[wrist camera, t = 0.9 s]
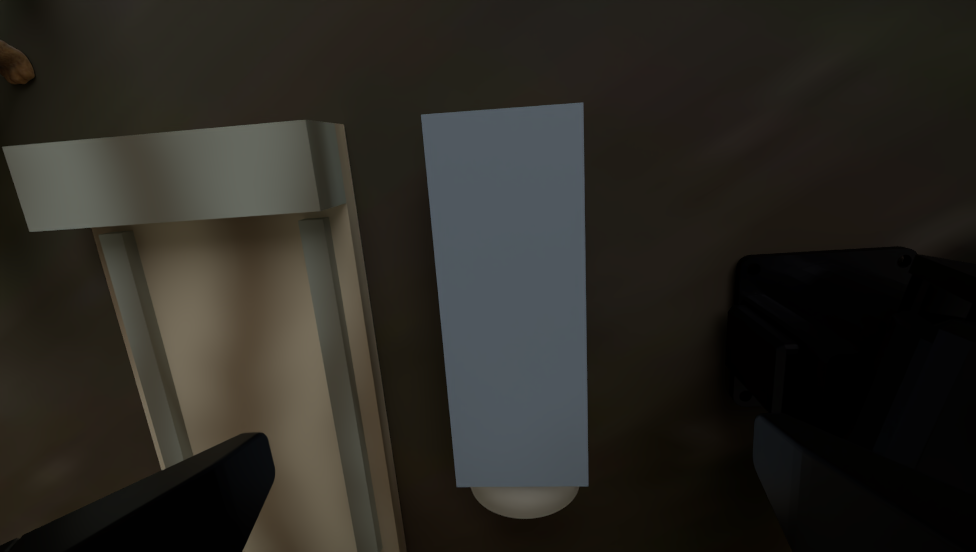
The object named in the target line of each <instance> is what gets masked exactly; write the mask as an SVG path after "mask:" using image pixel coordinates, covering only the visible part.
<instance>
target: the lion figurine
mask: <svg viewBox="0 0 976 552" xmlns="http://www.w3.org/2000/svg"><path fill="white" fill-rule="evenodd" d="M0 74H1V75H2V76H4V78H5V79H6V80H7V81H8V82H9V83H11V84H26V83H27V82H28V81H29V80H31V79H33V78H34V77H35V74H34V70H33V67H32V65H31V63H30V62H29V60H28V59H27V57H26V56H25V55H24V54H23V53H22V52H21V51H19V50H18V49H16V48H14V47H12V46H10V45H8V44H7V43H6V42H5V41H2V40H0Z"/></svg>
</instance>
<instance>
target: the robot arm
mask: <svg viewBox="0 0 976 552" xmlns="http://www.w3.org/2000/svg"><path fill="white" fill-rule="evenodd" d="M901 256H903V257H904V259H903V262H902V263H900V264H899V265H898V264H897V261H898V259H899V258H900V257H901ZM753 263H755V264H756V268H755V270H754V271H753V272H752V273H747V268H748V266H749V265H750V264H753ZM725 364H726V367H727V368H728V369H729V370H730V389H729V393H730V396H731V398H732V399H733V400H734V402H735V403H736V404H737V405H739V406H743V407H753V406H763V407H764V408H765V409H766V410H767V411H768V412H769V413H763V414H759V415H757V416H756V418H755V421H754V437H753V463H754V467H755V470H756V472H757V475H758V477H759V479H760V481H761V483H762V486H763V488H764V490H765V492H766V494H767V497H768V499H769V501H770V503H771V506H772V508H773V510H774V512H775V514H776V517H777V519H778V521H779V523H780V525H781V528H782V530H783V532H784V534H785V537H786V539H787V541H788V543H789V545H790V547H791V549H792V551H793V552H976V264H974V263H968V262H962V261H956V260H950V259H944V258H938V257H931V256H925V255H919V254H917V253H916V252H915V251H914V250H912V249H909V248H905V247H899V246H897V247H880V248H862V249H845V250H828V251H810V252H793V253H776V254H758V255H748V256H744V257H743V258H741V259H740V260H739V262H738V263H737V267H736V281H735V299H734V306H732V307H731V309H730V310H729V311H728V323H727V342H726V361H725ZM743 391H748V392H747V394H746V395H745V396H743V397H739V395H740V393H741V392H743ZM274 479H275V466H274V461H273V457H272V453H271V449H270V445H269V440H268V437H267V436H266V435H265V434H264V433H262V432H248V433H241V434H239V435H237V436H235V437H233V438H230V439H228V440H226V441H224V442H222V443H220V444H217V445H215V446H213V447H211V448H209V449H207V450H205V451H202V452H200V453H198V454H196V455H194V456H192V457H190V458H187V459H185V460H183V461H181V462H179V463H177V464H175V465H172V466H170V467H168V468H166V469H164V470H162V471H160V472H157V473H155V474H153V475H151V476H149V477H147V478H144V479H142V480H140V481H138V482H136V483H134V484H132V485H129V486H127V487H125V488H123V489H121V490H119V491H117V492H114V493H112V494H110V495H108V496H106V497H104V498H102V499H99V500H97V501H95V502H93V503H91V504H89V505H87V506H84V507H82V508H80V509H78V510H76V511H74V512H72V513H69V514H67V515H65V516H63V517H61V518H59V519H56V520H54V521H52V522H50V523H48V524H46V525H44V526H41V527H39V528H37V529H35V530H33V531H31V532H29V533H26V534H24V535H23V536H22V537H21V538H20V539H19V538H16V539H13V540H11V541H9V542H7V543H5V544H3V545H0V552H242V551H243V549H244V547H245V545H246V543H247V541H248V538H249V536H250V534H251V532H252V530H253V527H254V525H255V523H256V521H257V518H258V516H259V514H260V512H261V510H262V507H263V505H264V503H265V501H266V498H267V496H268V494H269V492H270V490H271V487H272V485H273V483H274Z"/></svg>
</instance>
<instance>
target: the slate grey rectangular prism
mask: <svg viewBox="0 0 976 552" xmlns="http://www.w3.org/2000/svg"><path fill="white" fill-rule="evenodd" d="M421 119H422V130H423V140H424V151H425V161H426V171H427V182H428V192H429V203H430V213H431V224H432V234H433V245H434V255H435V265H436V276H437V286H438V297H439V307H440V318H441V328H442V339H443V349H444V359H445V370H446V380H447V391H448V401H449V412H450V422H451V433H452V443H453V453H454V464H455V474H456V485H457V487H471V490H472V493H473V495H474V496H475V498H476V499H477V500H478V502H479V503H480V504H481V505H483V506H484V507H485V508H487V509H488V510H490V511H492V512H494V513H496V514H499V515H502V516H506V517H510V518H518V519H531V518H539V517H543V516H547V515H550V514H553V513H555V512H557V511H559V510H561V509H563V508H564V507H566V506H567V505H568V504H569V503H570V502H571V501H572V500H573V499H574V498H575V496H576V494H577V492H578V490H579V486H588V416H587V344H586V271H585V198H584V125H583V103H571V104H558V105H544V106H531V107H518V108H504V109H491V110H477V111H464V112H451V113H437V114H424V115H421Z"/></svg>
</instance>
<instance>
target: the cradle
mask: <svg viewBox="0 0 976 552" xmlns="http://www.w3.org/2000/svg"><path fill="white" fill-rule="evenodd" d="M2 148H3V151H4V154H5V158H6V161H7V164H8V167H9V170H10V173H11V176H12V179H13V182H14V185H15V188H16V191H17V195H18V198H19V201H20V204H21V207H22V210H23V213H24V216H25V219H26V222H27V225H28V228H29V232H36V231H50V230H64V229H78V228H91V229H92V232H93V236H94V239H95V242H96V246H97V249H98V253H99V256H100V260H101V263H102V267H103V270H104V273H105V277H106V280H107V284H108V287H109V291H110V294H111V298H112V301H113V304H114V308H115V311H116V315H117V318H118V322H119V325H120V328H121V332H122V335H123V339H124V342H125V346H126V349H127V353H128V356H129V359H130V363H131V366H132V370H133V373H134V377H135V380H136V384H137V387H138V390H139V394H140V397H141V401H142V404H143V408H144V411H145V415H146V418H147V421H148V425H149V428H150V432H151V435H152V439H153V442H154V446H155V449H156V452H157V456H158V459H159V463H160V466H161V470H164V469H166V468H168V467H170V466H172V465H175V464H177V463H179V462H181V461H183V460H185V459H187V458H190V457H192V456H194V455H196V454H198V453H200V452H202V451H205V450H207V449H209V448H211V447H213V446H215V445H217V444H220V443H222V442H224V441H226V440H228V439H230V438H233V437H235V436H237V435H239V434H241V433H248V432H262V433H264V434H265V435H266V436H267V437H268V440H269V445H270V449H271V453H272V457H273V461H274V466H275V479H274V483H273V485H272V487H271V490H270V492H269V494H268V496H267V498H266V501H265V503H264V505H263V507H262V510H261V512H260V514H259V516H258V518H257V521H256V523H255V525H254V527H253V530H252V532H251V534H250V536H249V538H248V541H247V543H246V545H245V547H244V549H243V551H242V552H407V549H406V542H405V536H404V529H403V522H402V515H401V508H400V502H399V495H398V488H397V481H396V474H395V468H394V461H393V454H392V447H391V441H390V434H389V427H388V420H387V413H386V407H385V400H384V393H383V386H382V379H381V373H380V366H379V359H378V352H377V346H376V339H375V332H374V325H373V318H372V312H371V305H370V298H369V291H368V285H367V278H366V271H365V264H364V257H363V251H362V244H361V237H360V230H359V223H358V217H357V210H356V203H355V196H354V190H353V183H352V176H351V169H350V162H349V156H348V149H347V142H346V135H345V128H344V124H336V123H327V122H319V121H311V120H298V121H286V122H275V123H264V124H253V125H242V126H230V127H219V128H208V129H197V130H186V131H174V132H163V133H152V134H141V135H130V136H118V137H107V138H96V139H85V140H74V141H62V142H51V143H40V144H29V145H18V146H6V147H2Z"/></svg>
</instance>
